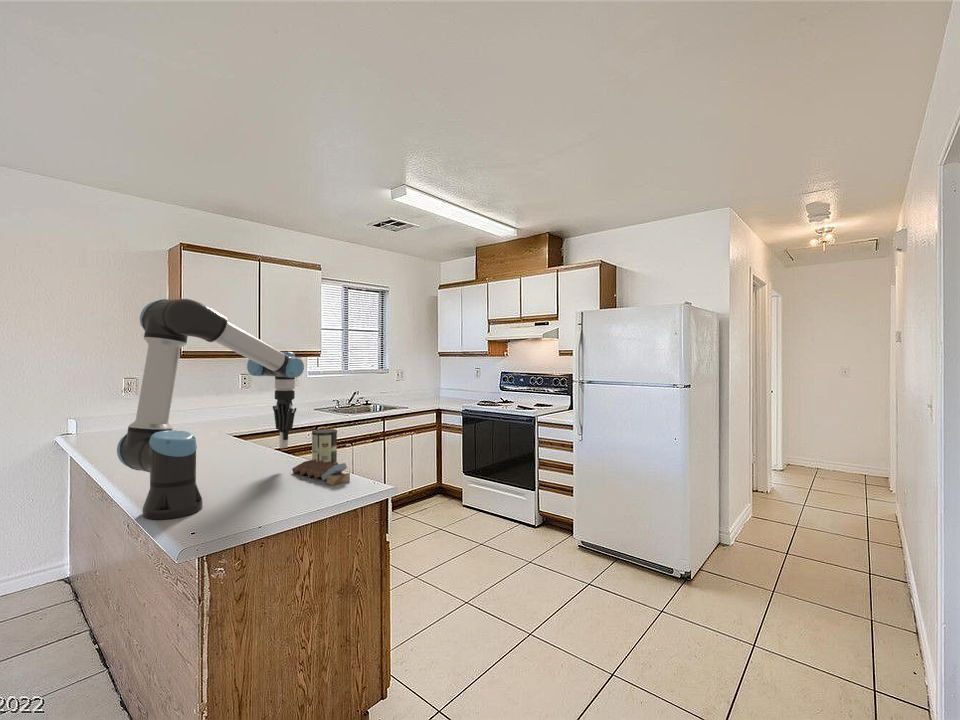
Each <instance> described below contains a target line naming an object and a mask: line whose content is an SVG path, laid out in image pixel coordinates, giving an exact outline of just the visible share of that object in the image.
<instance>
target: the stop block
mask: <svg viewBox="0 0 960 720" xmlns="http://www.w3.org/2000/svg"><path fill="white" fill-rule="evenodd" d="M350 478H351V473H350V472H349V471H342V472H341V473H337V474H333V475H329V476H327V480H326V484H327V485H329V486H336V485H339V484H343V483H347V482H350V480H351V479H350Z"/></svg>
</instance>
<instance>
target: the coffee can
mask: <svg viewBox="0 0 960 720" xmlns="http://www.w3.org/2000/svg"><path fill="white" fill-rule="evenodd" d="M337 434H338V430H337V429H336V428H335V429H333V428H321V429H314V430H312V431H311V460H314V459H316V462H318V461H324V463H325V462H329V461H331V463H332V464H333V463H337V462H338V460H337V457H338V456H337V455H338V452H337V448H338V447H337V445H338V444H337V442H338V441H337V440H338V435H337Z"/></svg>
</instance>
